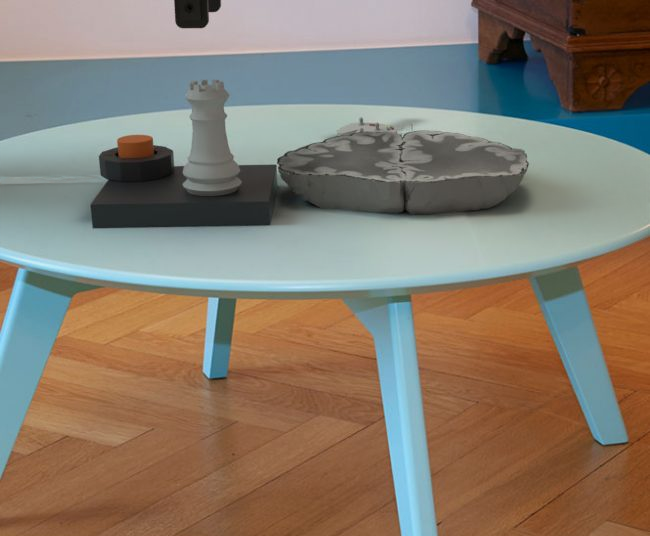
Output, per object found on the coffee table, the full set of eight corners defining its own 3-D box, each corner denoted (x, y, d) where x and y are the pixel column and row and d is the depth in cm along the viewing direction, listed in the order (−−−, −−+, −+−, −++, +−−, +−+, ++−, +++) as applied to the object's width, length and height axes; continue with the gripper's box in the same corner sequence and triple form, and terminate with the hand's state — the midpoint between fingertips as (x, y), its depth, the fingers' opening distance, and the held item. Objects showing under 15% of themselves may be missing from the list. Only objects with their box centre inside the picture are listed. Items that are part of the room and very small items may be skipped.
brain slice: (514, 163, 99) (516, 129, 97) (535, 220, 83) (537, 180, 82) (290, 164, 100) (289, 131, 99) (268, 220, 84) (267, 181, 83)
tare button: (115, 162, 89) (114, 142, 88) (122, 153, 91) (120, 134, 91) (151, 161, 89) (149, 142, 88) (156, 153, 91) (155, 134, 91)
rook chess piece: (210, 200, 82) (204, 90, 79) (170, 190, 85) (162, 83, 82) (254, 188, 85) (249, 81, 82) (214, 178, 88) (208, 75, 85)
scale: (81, 229, 83) (76, 183, 82) (111, 187, 94) (107, 145, 93) (270, 226, 83) (268, 179, 81) (277, 184, 94) (276, 142, 92)
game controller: (329, 154, 103) (329, 125, 102) (356, 128, 113) (356, 102, 112) (391, 156, 102) (391, 127, 101) (412, 130, 112) (413, 103, 111)
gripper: (148, -226, 81) (161, 7, 87) (111, -243, 68) (129, 33, 74) (253, -227, 81) (258, 7, 87) (236, -244, 68) (244, 33, 74)
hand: (199, 19), depth 81 cm, fingers open, 8 cm apart
